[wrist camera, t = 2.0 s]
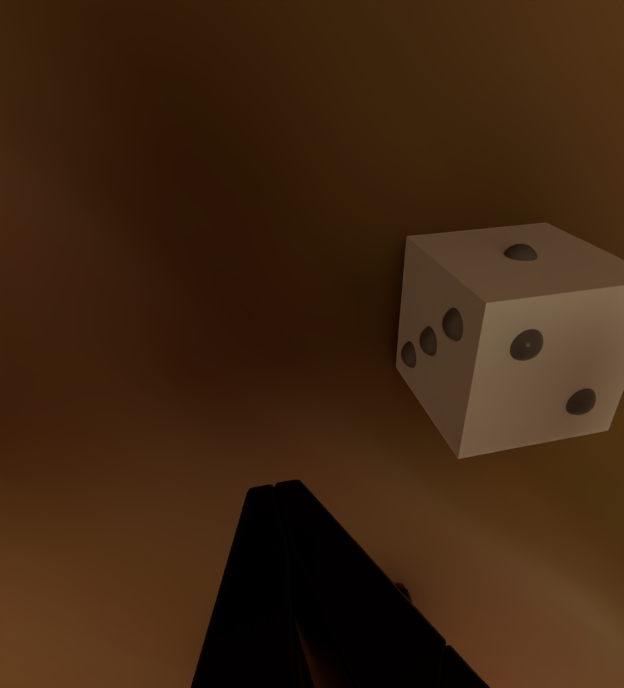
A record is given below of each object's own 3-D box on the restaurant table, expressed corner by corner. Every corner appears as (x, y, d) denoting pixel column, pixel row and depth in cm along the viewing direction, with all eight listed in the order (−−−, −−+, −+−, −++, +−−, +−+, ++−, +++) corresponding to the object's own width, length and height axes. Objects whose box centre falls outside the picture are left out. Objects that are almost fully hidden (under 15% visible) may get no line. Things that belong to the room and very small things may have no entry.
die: (515, 347, 16) (615, 437, 12) (386, 366, 15) (452, 468, 11) (546, 212, 13) (679, 272, 10) (396, 226, 13) (482, 298, 9)
